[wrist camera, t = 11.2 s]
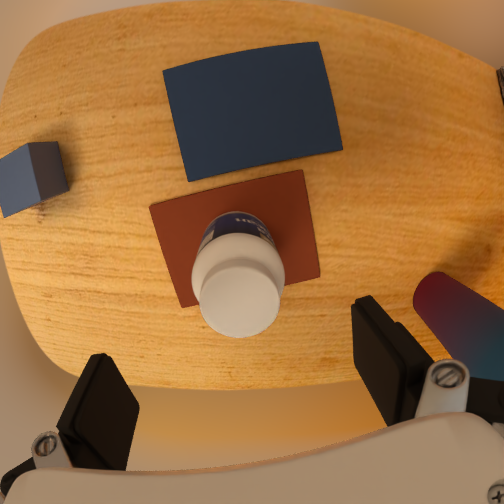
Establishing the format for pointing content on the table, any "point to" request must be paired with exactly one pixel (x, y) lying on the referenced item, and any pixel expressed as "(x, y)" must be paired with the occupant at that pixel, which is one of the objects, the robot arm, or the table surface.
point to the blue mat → (252, 108)
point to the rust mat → (243, 200)
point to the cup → (463, 324)
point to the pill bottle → (238, 275)
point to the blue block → (31, 176)
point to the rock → (501, 78)
